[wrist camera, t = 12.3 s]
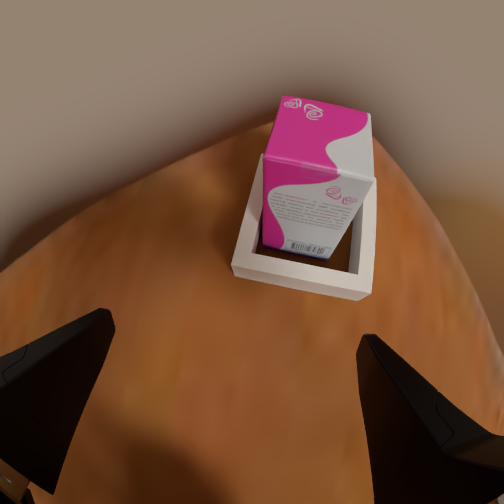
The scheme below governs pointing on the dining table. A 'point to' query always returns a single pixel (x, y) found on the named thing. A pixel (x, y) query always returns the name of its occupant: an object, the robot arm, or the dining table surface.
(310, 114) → the supplement box
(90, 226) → the dining table surface
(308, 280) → the collar
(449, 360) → the dining table surface
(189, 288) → the dining table surface
